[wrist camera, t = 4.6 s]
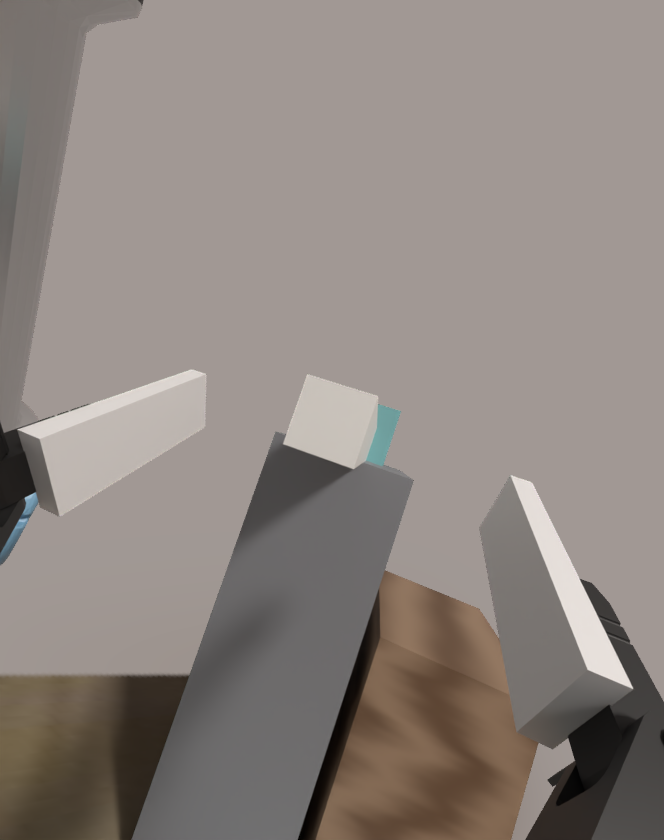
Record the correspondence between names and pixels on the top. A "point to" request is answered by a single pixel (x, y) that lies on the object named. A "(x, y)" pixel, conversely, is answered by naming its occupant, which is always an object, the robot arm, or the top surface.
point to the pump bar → (341, 424)
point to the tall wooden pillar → (422, 729)
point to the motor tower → (276, 651)
